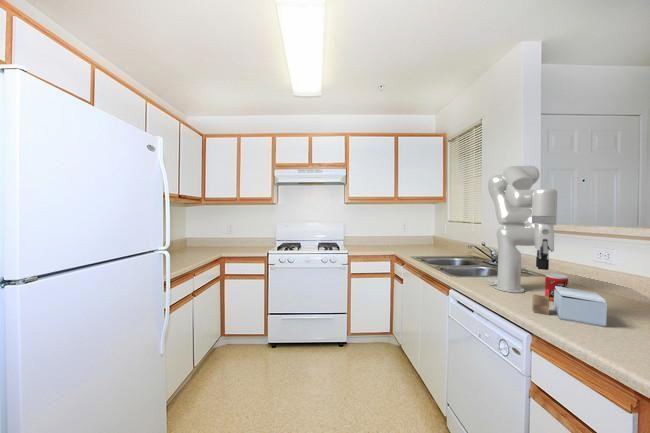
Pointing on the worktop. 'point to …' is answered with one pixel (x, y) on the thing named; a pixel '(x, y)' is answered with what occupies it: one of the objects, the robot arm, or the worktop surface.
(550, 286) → the canned food
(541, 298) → the block
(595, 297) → the flap
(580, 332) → the worktop surface
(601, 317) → the carton
